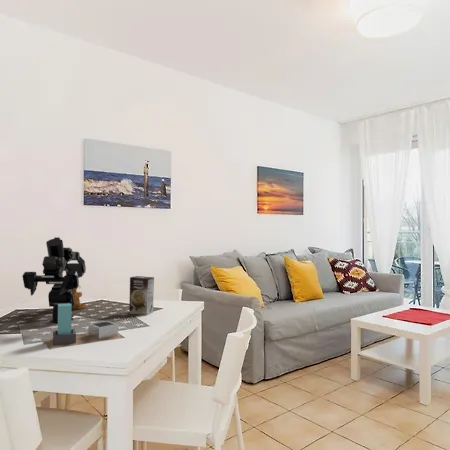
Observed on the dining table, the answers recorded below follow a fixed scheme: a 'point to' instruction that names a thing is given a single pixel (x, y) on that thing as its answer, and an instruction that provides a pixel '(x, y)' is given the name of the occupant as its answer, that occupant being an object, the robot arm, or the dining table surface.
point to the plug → (64, 319)
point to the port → (103, 330)
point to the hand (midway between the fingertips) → (45, 294)
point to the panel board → (79, 340)
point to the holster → (64, 338)
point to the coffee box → (141, 295)
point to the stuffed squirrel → (77, 299)
